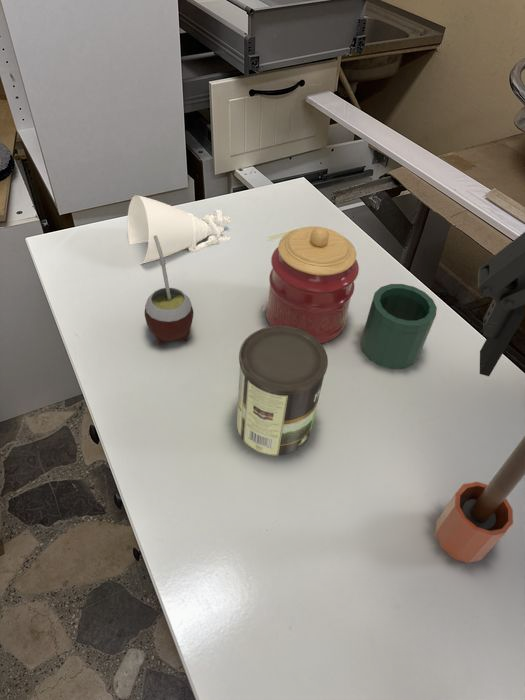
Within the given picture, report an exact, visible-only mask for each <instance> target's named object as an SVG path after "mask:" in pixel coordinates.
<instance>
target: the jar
mask: <svg viewBox="0 0 525 700" xmlns="http://www.w3.org/2000/svg"><path fill="white" fill-rule="evenodd" d="M369 307H370V308H369V311H368V315H367V318H366V321H365V324H364V328H363V332H362V336H361V338H360V343H359V344H360V347H361V351H362V353H363V354H364V355H365V356H366V358H367V359H368V360H369V361H370V362H373V363H374V364H376V365H378V366H380V367H383V368H387V369H391V370H397V369H398V370H402V369H406V368H409V367H411V366H413V365H414V364H415V363H416V362H417V361H418V360H419V357H420V355H421V353H422V350H423V348H424V345H425V343H426V340H427V339H428V335H429V334H430V332H431V328H432V326H433V324H434V321H435V319H436V316H437V309H438V308H437V307H438V306H437V305H436V302H435V301H434V299H433V298H432V297H431V296H430V295H428V293H426V292H425V291H424V290H422V289H420V288H418V287H416V286H413V285H408V284H404V283H389V284H386V285H383V286H381V287H379V288H378V289H377V290H376V291H374V294H373V297H372V301H371V303H370V306H369Z"/></svg>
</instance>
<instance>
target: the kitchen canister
mask: <svg viewBox="0 0 525 700" xmlns="http://www.w3.org/2000/svg"><path fill="white" fill-rule="evenodd" d="M270 261H271V262H270V263H271V270H270V272H269V277H268V278H269V279H268V280H269V290H268V300H267V302H266V310H265V315H266V316H265V317H266V320H267V322H268V325H269V327H272V326H287V327H293V328H297V329H300V330H302V331H305V332H307V333H309V334H310V335H312V336H313V337H315V338H316V339H317V340H318V341H319V342H320V343H321V344H324V343H328V342H330V341H332V340H334V339H336V338H337V337H338V336H339V335H340V334H341V333H342V332H343V331H344V328H345V326H346V323H347V319H348V310H349V306H350V303H351V299H352V296H353V295H354V292H355V281H356V279H357V278H358V275H359V273H360V268H359V267H360V266H359V263H358V260H357V251H356V248H355V246H354V244H353V243H352V242H351V240H349V239H348V238H346V237H345V236H344V235H342V234H340V233H339V232H337V231H335V230H333V229H330V228H327V227H323V226H314V225H313V226H312V225H311V226H304V227H300V228H296V229H293V230H290V231H289V232H287V233H285V234H284V235H283V236H282V237H281V239H280V240H279V242H278V245H277V247H276V248H275V249H274V251H273V252H272V255H271V258H270Z"/></svg>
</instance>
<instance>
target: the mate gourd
mask: <svg viewBox="0 0 525 700" xmlns="http://www.w3.org/2000/svg"><path fill="white" fill-rule="evenodd" d="M154 240H155V243H156V246H157V249H158V253H159V257H160V258H159V259H158V260H159V264H160V266H161V271H162V276H163V282H164V286H165V287H161V288H159V289H157V290H155V291H153V293H151V294H150V295H149V296H148V298H147V300H146V303H145V305H144V318H145V322H146V326H147V327H148V329H149V330H150V332H151V334H153V335H154V337H155V339H156V341H157V344H158V346H162V345H163V344H164V343H165V342H174V341H177V340H181V341H185V342H186V341H188V339H189V337H190V334H191V333H190V331H191V328H192V324H193V320H194V308H193V304H192V301H191V299H190V297H189V296H188V295H187V294H185V293H184V292H183V290H181V289H179V288H176V287H170V284H169V279H168V272H167V266H166V264H167V262H166V257H163V253H162V249H161V246H160V243H159V240H158V237H157V236H154Z"/></svg>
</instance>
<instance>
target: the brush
mask: <svg viewBox="0 0 525 700" xmlns="http://www.w3.org/2000/svg"><path fill="white" fill-rule="evenodd" d="M524 477H525V435H524V436H523V437H522V439H521V440H520V441H519V443H518V444H517V445H516V447H515V448H514V449H513V451H512V452H511V453H510V455H509V456H508V457H507V459H506V460H505V461H504V463H503V464H502V466H500V468H499V469H498V471H497V472H496V474H495V475H494V476H493V477H492V479H491V480H490V481H489V483H488V484H486V485H487V487H486V488H485V489H484V491H483V492H482V493H481V495H480V496H479V497H478V499H469V500H467V501H466V502H465V503H464V504H463V505H462V507H461V509H462V511H463V513H464V515H465V517H466V518H467V519H468V520H469V521H470V522H472V523H473V524H474V525H475V526H476V527H478V528H482V529H485V530H488V531H490V530H491V529H492V528H493V526H494V525H495V523H496V515H495V513H494V512H495V511H496V509H497V508H498V507H499V506H500V505H501V503H502V502H503V501H504V500H505V498H506V499H507V498H508V496H509V495H510V494H511V492H512V491H514V489H515V488H516V486H518V484H519V483H520V482H521V481H522V479H523V478H524Z"/></svg>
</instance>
